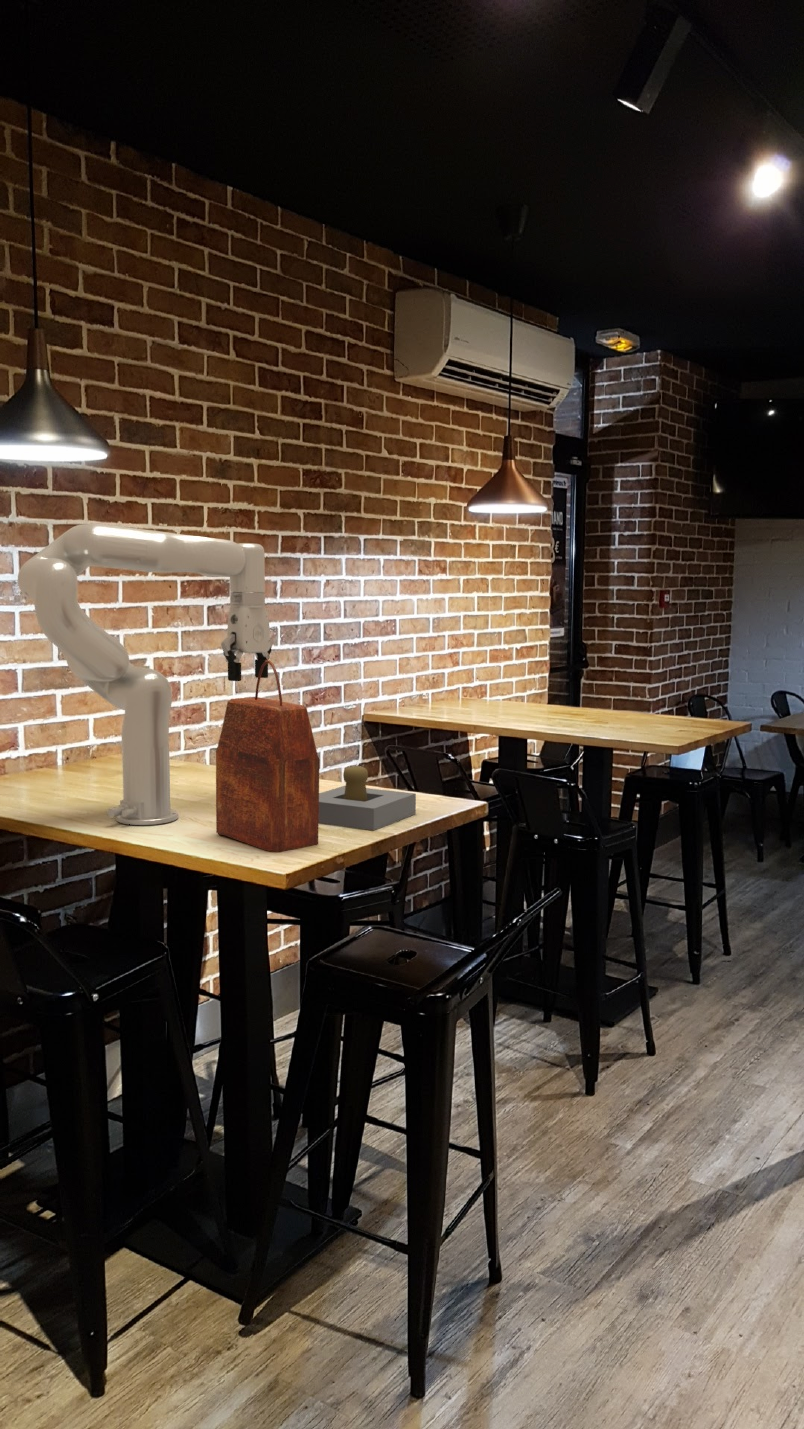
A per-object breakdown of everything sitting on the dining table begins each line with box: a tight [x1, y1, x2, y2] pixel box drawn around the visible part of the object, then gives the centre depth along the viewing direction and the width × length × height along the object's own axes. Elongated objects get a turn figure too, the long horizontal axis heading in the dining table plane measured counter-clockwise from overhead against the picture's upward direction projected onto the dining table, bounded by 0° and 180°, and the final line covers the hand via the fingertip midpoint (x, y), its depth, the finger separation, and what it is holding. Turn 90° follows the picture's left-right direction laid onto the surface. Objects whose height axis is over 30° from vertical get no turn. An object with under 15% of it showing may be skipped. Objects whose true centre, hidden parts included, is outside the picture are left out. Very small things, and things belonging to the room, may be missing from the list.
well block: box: [319, 785, 417, 831], centre depth 224 cm, size 18×18×4 cm
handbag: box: [215, 659, 321, 853], centre depth 201 cm, size 10×19×35 cm, turn 43°
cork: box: [342, 765, 369, 802], centre depth 223 cm, size 6×6×11 cm
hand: (248, 679), depth 232 cm, fingers open, 9 cm apart
